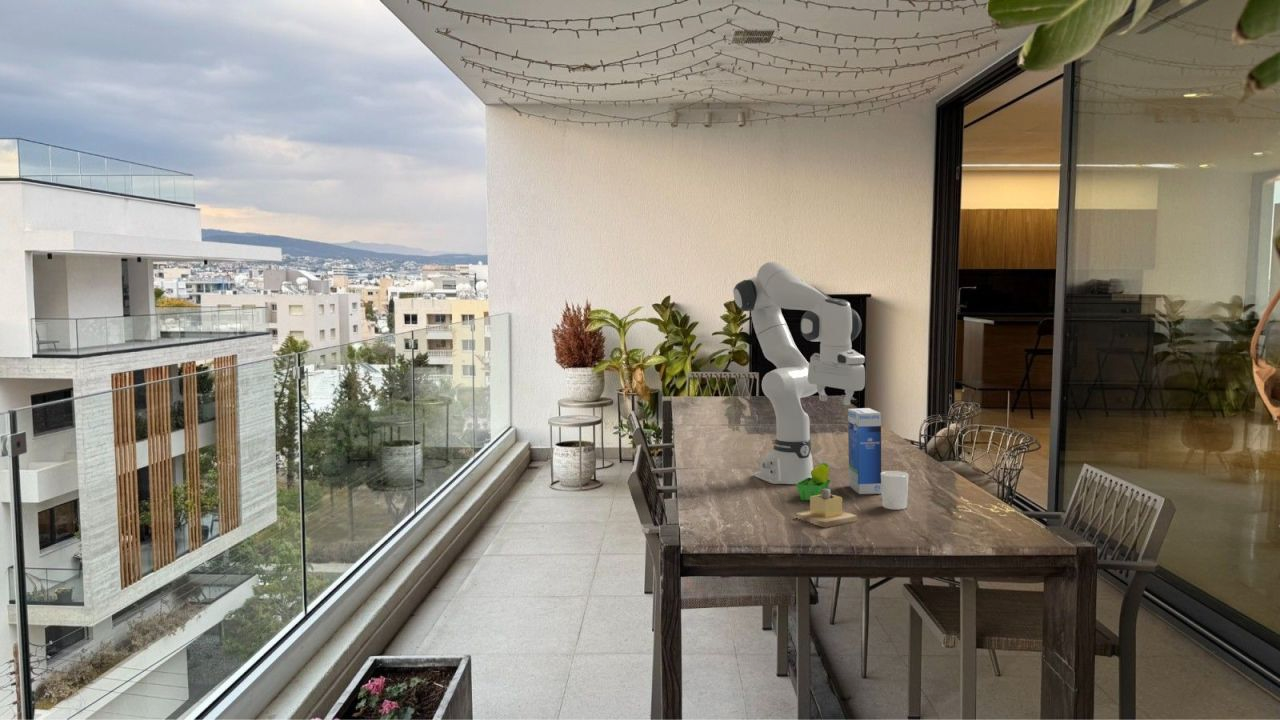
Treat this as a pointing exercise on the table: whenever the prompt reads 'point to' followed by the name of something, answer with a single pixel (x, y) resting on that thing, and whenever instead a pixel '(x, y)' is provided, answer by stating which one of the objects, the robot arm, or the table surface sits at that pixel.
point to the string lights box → (864, 450)
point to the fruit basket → (814, 482)
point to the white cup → (894, 489)
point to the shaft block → (826, 521)
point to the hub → (825, 506)
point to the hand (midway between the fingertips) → (834, 402)
